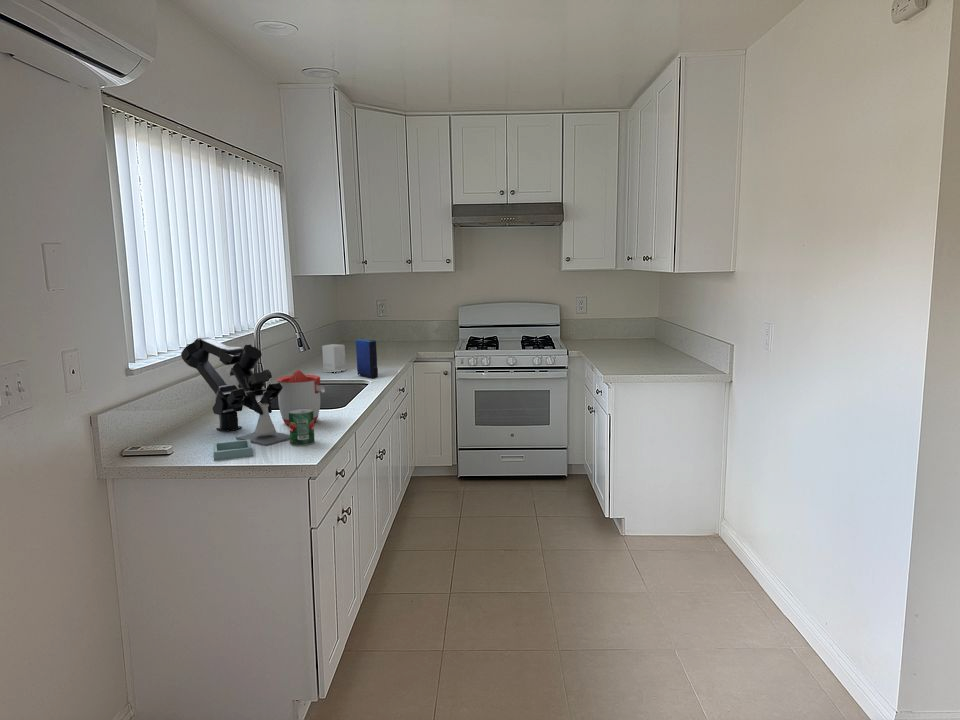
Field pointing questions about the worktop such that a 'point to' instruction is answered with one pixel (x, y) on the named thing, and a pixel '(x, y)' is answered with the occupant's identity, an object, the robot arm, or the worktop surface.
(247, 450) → the shallow square tray
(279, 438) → the mat
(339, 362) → the supplement box
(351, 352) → the worktop surface
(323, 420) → the worktop surface
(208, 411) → the worktop surface
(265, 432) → the flask
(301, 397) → the citrus juicer
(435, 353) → the worktop surface
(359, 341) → the book
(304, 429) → the canned tomato
